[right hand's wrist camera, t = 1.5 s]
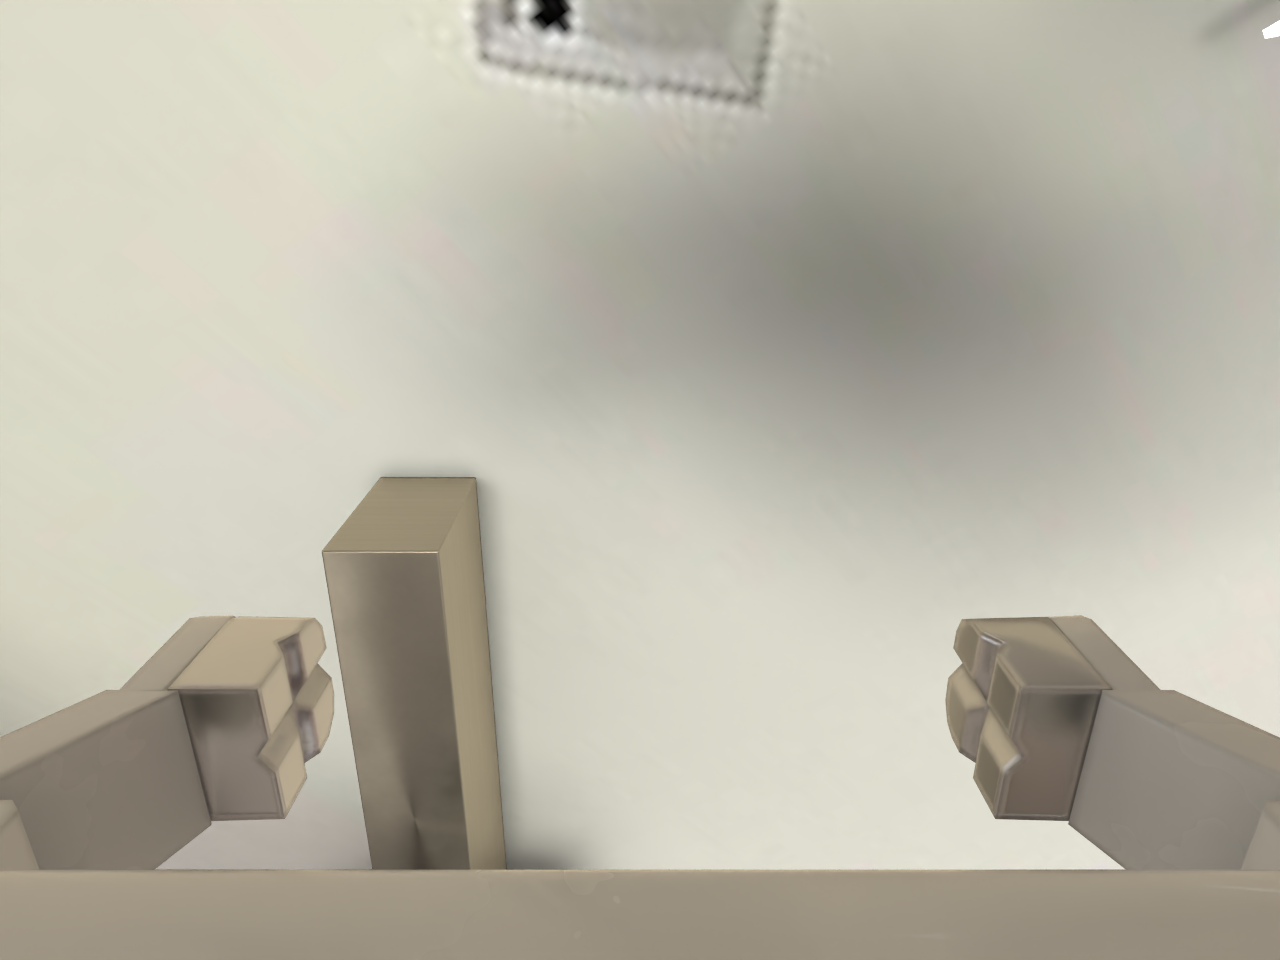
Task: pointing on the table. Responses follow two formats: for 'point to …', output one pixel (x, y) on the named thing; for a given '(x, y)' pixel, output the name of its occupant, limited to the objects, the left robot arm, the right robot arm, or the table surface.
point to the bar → (418, 674)
